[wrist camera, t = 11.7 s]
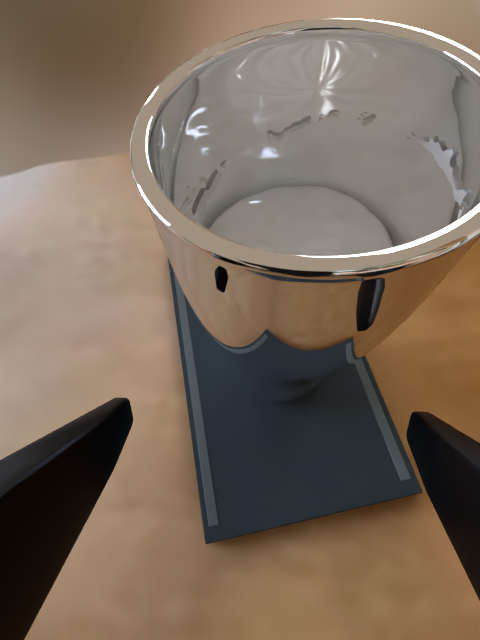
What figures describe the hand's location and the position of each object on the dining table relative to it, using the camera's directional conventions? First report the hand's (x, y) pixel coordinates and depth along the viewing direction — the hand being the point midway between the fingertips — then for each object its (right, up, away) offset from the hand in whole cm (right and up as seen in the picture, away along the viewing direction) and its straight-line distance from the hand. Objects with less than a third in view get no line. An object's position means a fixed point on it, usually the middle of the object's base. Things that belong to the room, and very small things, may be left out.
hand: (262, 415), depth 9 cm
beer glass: (+2, +1, +10) cm, 10 cm away
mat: (+1, +1, +10) cm, 11 cm away
